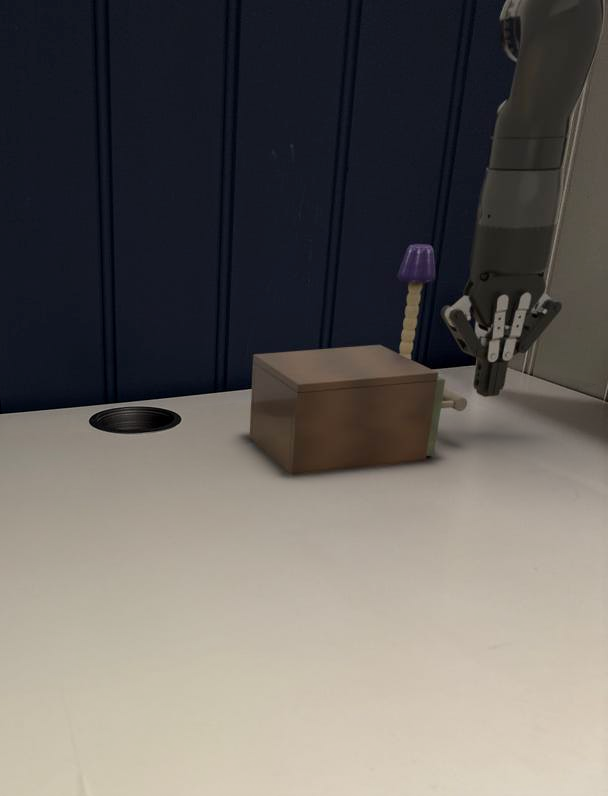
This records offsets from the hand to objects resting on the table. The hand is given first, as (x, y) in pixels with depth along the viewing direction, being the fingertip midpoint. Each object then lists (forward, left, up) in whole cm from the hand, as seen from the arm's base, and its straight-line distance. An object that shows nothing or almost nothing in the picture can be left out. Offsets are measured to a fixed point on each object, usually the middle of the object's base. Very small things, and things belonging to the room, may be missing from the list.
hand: (487, 394), depth 100 cm
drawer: (+13, +2, -4) cm, 14 cm away
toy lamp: (-1, -26, -5) cm, 26 cm away
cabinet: (+17, +2, -5) cm, 18 cm away
